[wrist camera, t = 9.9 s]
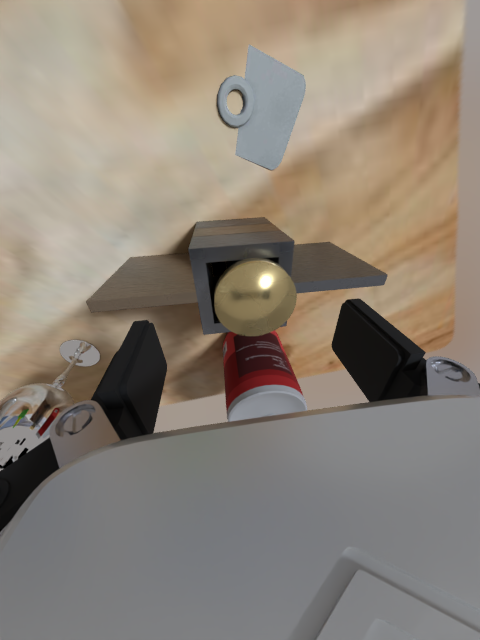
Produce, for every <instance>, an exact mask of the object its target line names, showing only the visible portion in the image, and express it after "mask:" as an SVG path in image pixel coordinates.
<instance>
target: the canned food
mask: <svg viewBox="0 0 480 640" xmlns="http://www.w3.org/2000/svg"><path fill="white" fill-rule="evenodd" d="M223 360H224V377H225V394H226V408H227V419H228V422H231V421H238V420H244V419H251V418H258V417H266V416H273V415H280V414H287V413H294V412H301V411H307V405H306V402H305V399H304V397H303V394H302V391H301V389H300V386H299V384H298V382H297V379H296V377H295V374H294V372H293V370H292V367H291V365H290V363H289V360H288V358H287V355H286V353H285V351H284V348H283V346H282V344H281V341H280V339H279V337H278V334H277V333H276V332H275V330H274V331H272V332H270V333H267V334H264V335H260V336H243V335H239V334H236V333H234V332H228V333H227V335H226V337H225V340H224V342H223Z"/></svg>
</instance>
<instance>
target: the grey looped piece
mask: <svg viewBox="0 0 480 640" xmlns="http://www.w3.org/2000/svg"><path fill="white" fill-rule="evenodd" d="M305 87H306V84H305V79H304V76H303V75H302V74H300V73H298V72H297V71H295V70H293V69H291V68H290V67H288V66H286V65H284V64H283V63H281V62H279V61H277V60H276V59H274V58H272V57H270V56H269V55H267V54H265V53H263V52H261V51H260V50H258V49H256V48H254V47H253V46H251V45H249V48H248V56H247V64H246V72H245V79H244V78H242V77H240V76H235V75H233V76H231V77H228V78H226V79H225V81H224V82H223V83H222V84H221V86H220V89H219V91H218V95H217V106H218V110H219V114H220V116H221V117H222V119H223V121H224V122H225V123H226V124H228V125H229V126H230V127H235V128H239V130H238V138H237V146H236V154H235V155H237V156H239V157H242V158H244V159H246V160H249V161H251V162H253V163H256V164H258V165H260V166H263V167H265V168H267V169H270V170H273V169H275V168H277V167H278V166H279V164H280V163H281V161H282V158H283V155H284V152H285V149H286V147H287V144H288V141H289V138H290V135H291V132H292V129H293V126H294V124H295V121H296V118H297V115H298V112H299V109H300V106H301V103H302V101H303V98H304V94H305ZM234 89H237V90H239V91H241V92H242V94H243V97H242V98H243V108H242V110H241V113H240V114H238V115H233V114H232V113H231V112H230V111H229V110H228V108H227V103H226V102H227V96H228V93H229V92H230V91H231V90H234Z"/></svg>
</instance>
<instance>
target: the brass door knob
mask: <svg viewBox="0 0 480 640" xmlns="http://www.w3.org/2000/svg"><path fill="white" fill-rule="evenodd" d="M225 262H226V270H225V271H224V272H223V274H222V275H221V276H220V278H219V280H218V282H217V284H216V287H215V292H214V307H215V312H216V315H217V317H218V319H219V321H220V322H221V323H222V324H223V325H224V326H225V327H226V328H227V329H228V330H230V331H232V332H234V333H236V334H239V335H243V336H260V335H264V334H267V333H270V332H272V331H274V330H276V329H277V328H279V327H280V326H282V325H283V324H284V323H285V322H286V321H287V320H288V318H289V317H290V316H291V314H292V312H293V310H294V308H295V305H296V297H297V294H296V288H295V285H294V283H293V281H292V279H291V278H290V276H289V275H288V274H287V272H286V271H285V270H284V269H283V268H282V267H281V266H280V265H279V264H277V263H275V262H274V261H271V260H268V259H265V258H248V259H244V260H234V261H225Z"/></svg>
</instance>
